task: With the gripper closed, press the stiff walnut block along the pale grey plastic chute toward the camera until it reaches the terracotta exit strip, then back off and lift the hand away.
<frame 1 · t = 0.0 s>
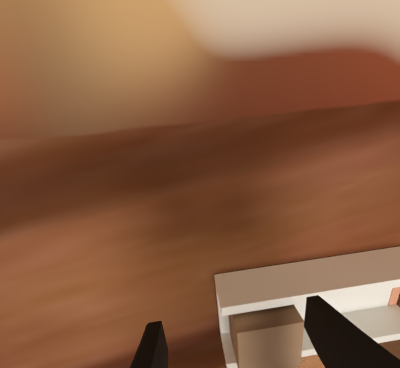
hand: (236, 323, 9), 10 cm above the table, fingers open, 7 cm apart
chute: (307, 289, 23), on the table
walnut block: (262, 328, 19), point 3 cm above the table, slide at 0.0 cm
wooden block: (399, 336, 28), on the table
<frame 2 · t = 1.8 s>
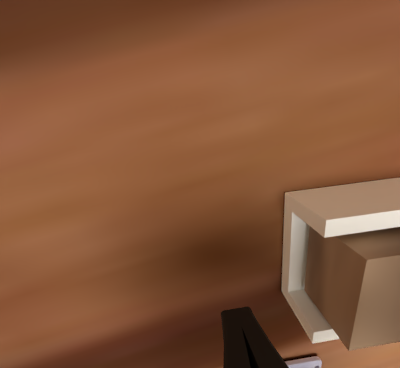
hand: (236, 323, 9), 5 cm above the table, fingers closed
walnut block: (375, 271, 12), point 3 cm above the table, slide at 0.0 cm
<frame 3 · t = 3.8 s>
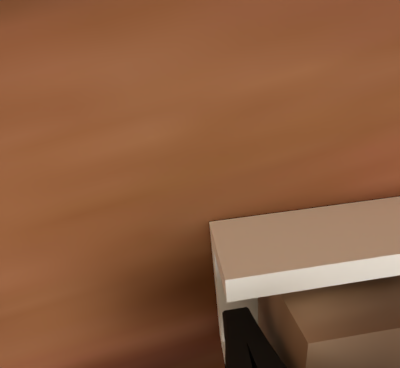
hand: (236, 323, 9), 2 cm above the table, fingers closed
chute: (385, 259, 12), on the table
walnut block: (339, 329, 9), point 3 cm above the table, slide at 1.1 cm, touching gripper
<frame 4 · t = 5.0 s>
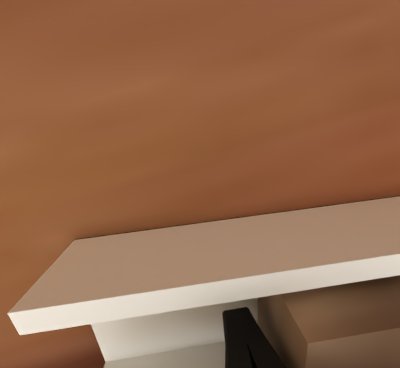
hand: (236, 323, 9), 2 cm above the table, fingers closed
chute: (278, 276, 12), on the table
walnut block: (338, 329, 9), point 3 cm above the table, slide at 8.2 cm, touching gripper
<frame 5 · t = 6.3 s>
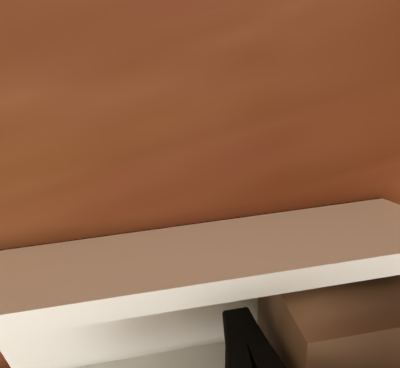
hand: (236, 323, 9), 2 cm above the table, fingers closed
chute: (197, 288, 12), on the table
walnut block: (338, 329, 9), point 3 cm above the table, slide at 13.2 cm, touching gripper
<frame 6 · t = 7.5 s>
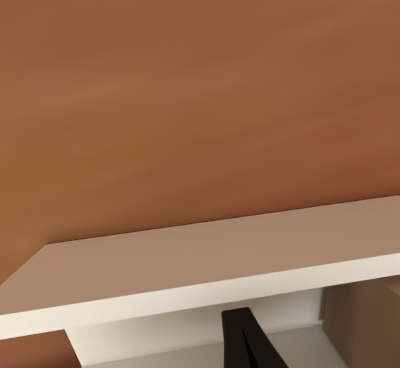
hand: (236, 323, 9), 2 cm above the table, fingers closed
chute: (256, 279, 12), on the table
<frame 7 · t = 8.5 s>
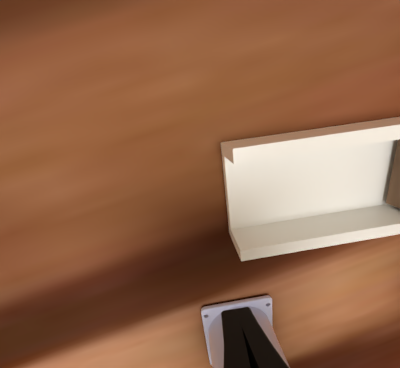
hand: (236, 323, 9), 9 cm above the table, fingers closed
chute: (341, 173, 18), on the table
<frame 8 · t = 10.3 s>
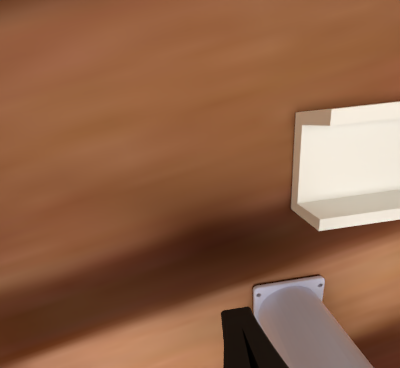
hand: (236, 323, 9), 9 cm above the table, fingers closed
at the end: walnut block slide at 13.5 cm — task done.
